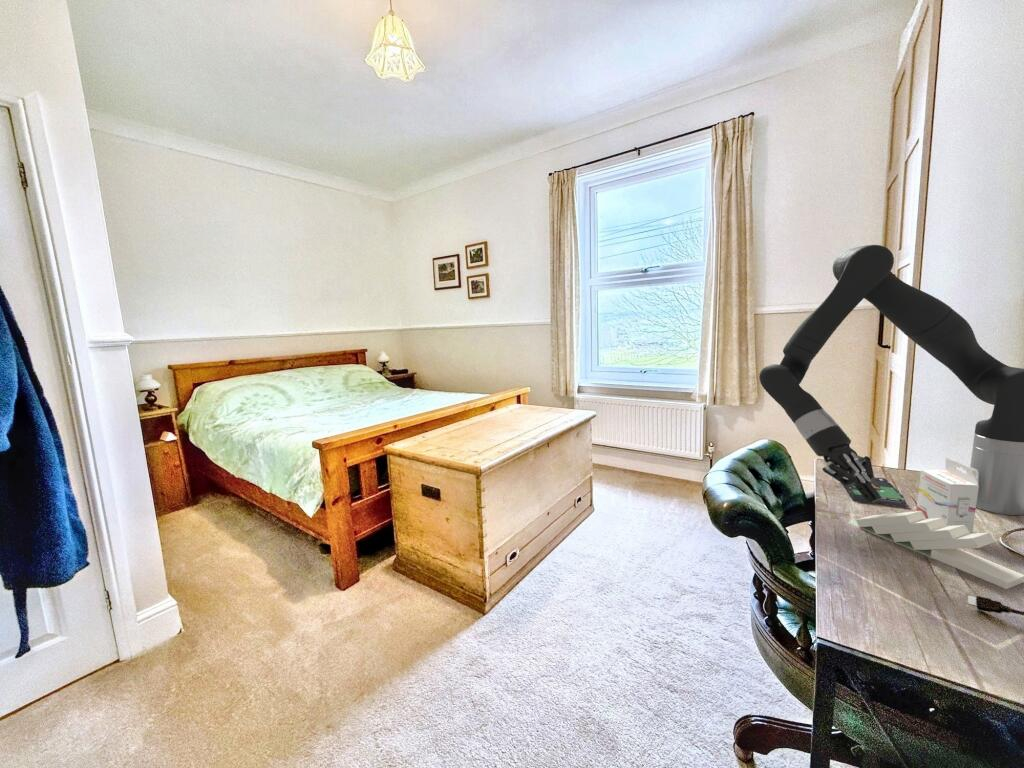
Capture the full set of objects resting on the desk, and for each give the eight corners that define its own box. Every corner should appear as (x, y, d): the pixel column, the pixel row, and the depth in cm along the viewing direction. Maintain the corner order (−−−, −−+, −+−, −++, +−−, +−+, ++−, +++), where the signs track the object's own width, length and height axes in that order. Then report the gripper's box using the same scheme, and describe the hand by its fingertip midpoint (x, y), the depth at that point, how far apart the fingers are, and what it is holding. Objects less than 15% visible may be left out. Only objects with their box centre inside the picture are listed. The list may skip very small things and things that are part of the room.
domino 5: (948, 543, 78) (1025, 575, 69) (946, 551, 79) (1023, 584, 69) (931, 549, 77) (1008, 582, 67) (930, 556, 77) (1006, 591, 68)
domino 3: (906, 529, 84) (964, 524, 76) (910, 537, 84) (970, 533, 75) (890, 533, 83) (948, 530, 74) (894, 542, 82) (953, 539, 74)
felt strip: (862, 519, 92) (862, 517, 92) (949, 554, 78) (949, 552, 78) (846, 524, 91) (846, 522, 91) (932, 560, 77) (932, 558, 77)
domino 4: (926, 536, 81) (989, 532, 73) (930, 544, 81) (995, 542, 72) (909, 541, 80) (972, 538, 71) (914, 550, 79) (978, 548, 70)
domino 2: (887, 522, 87) (942, 517, 79) (891, 529, 87) (947, 526, 78) (872, 526, 86) (925, 522, 77) (876, 534, 85) (930, 531, 77)
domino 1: (871, 515, 91) (921, 510, 82) (874, 523, 90) (926, 519, 81) (855, 519, 89) (905, 515, 80) (859, 527, 89) (909, 523, 80)
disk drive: (837, 482, 114) (852, 503, 101) (837, 473, 114) (853, 493, 101) (884, 487, 109) (907, 510, 96) (885, 478, 109) (908, 499, 96)
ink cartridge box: (913, 517, 92) (920, 456, 90) (939, 518, 91) (947, 456, 89) (944, 536, 84) (953, 470, 82) (973, 538, 83) (983, 470, 81)
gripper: (813, 427, 92) (870, 499, 82) (853, 420, 96) (912, 488, 86) (789, 443, 98) (840, 512, 88) (828, 436, 102) (880, 501, 92)
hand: (875, 500), depth 87 cm, fingers closed
